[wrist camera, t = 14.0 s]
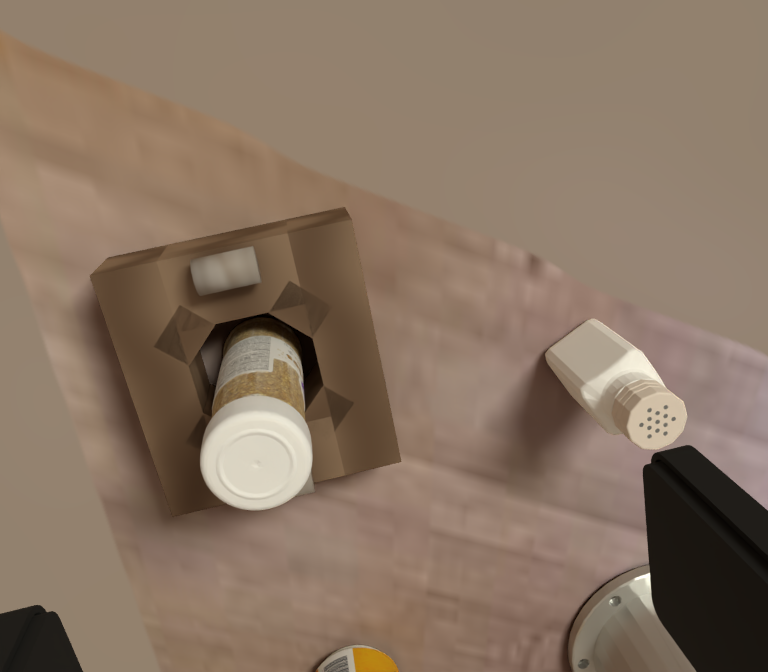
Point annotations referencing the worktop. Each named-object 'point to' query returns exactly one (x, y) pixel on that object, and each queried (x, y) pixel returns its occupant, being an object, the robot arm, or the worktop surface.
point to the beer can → (358, 660)
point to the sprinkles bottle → (258, 419)
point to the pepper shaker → (617, 386)
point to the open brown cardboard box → (240, 300)
